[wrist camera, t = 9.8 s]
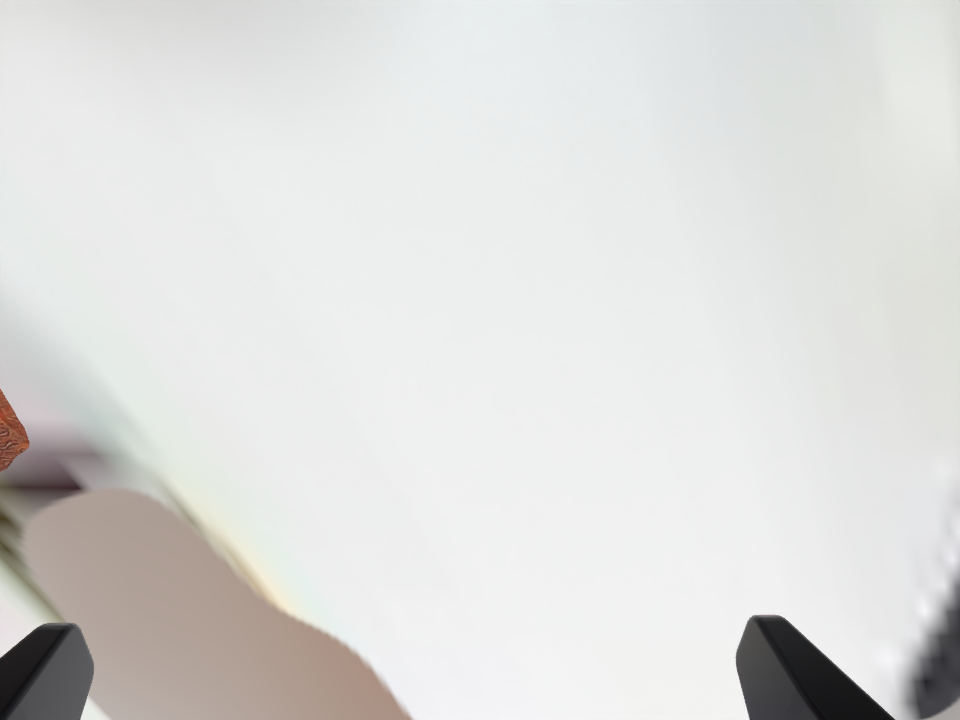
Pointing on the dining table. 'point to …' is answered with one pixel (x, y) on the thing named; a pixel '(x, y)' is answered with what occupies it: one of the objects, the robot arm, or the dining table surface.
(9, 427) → the wooden tablet
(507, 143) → the dining table surface
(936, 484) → the dining table surface
